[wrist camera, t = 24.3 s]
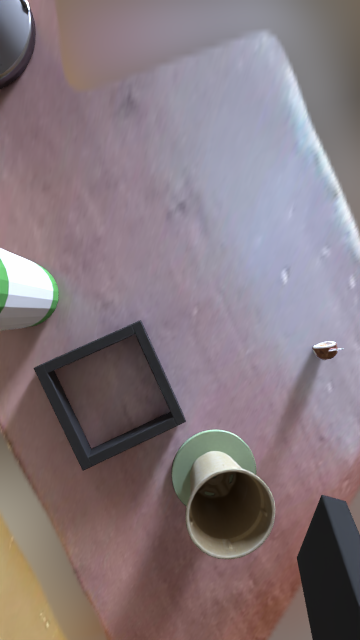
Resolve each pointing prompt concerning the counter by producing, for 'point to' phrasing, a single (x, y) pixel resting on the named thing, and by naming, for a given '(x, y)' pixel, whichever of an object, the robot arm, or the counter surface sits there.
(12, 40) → the robot arm
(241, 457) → the coaster
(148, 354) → the holder
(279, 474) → the counter surface
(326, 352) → the chocolate
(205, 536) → the flower pot
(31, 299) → the wine bottle
